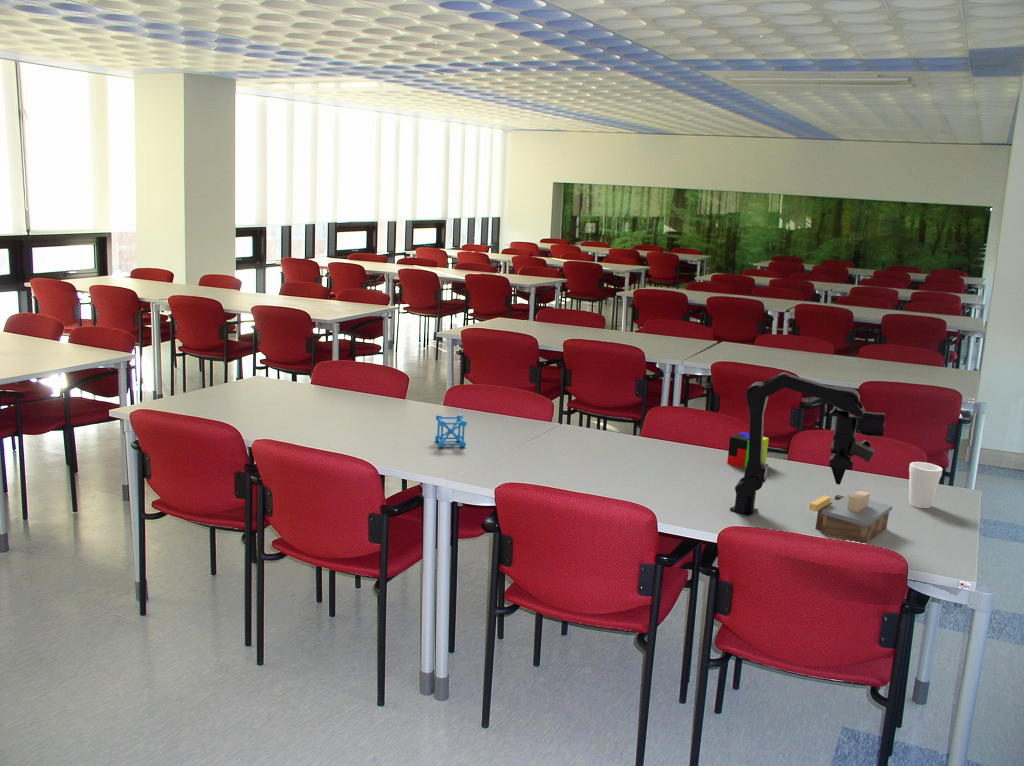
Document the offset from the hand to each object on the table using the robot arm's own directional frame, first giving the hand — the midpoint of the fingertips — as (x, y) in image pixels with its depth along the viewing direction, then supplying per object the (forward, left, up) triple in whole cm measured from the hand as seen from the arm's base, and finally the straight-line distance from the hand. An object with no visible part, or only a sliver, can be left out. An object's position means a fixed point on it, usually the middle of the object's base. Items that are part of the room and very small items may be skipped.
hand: (838, 484), depth 262 cm
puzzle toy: (+37, +46, -14) cm, 61 cm away
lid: (+2, -4, -7) cm, 9 cm away
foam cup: (+42, -12, -14) cm, 46 cm away
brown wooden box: (+2, -4, -13) cm, 14 cm away
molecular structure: (-29, +129, -14) cm, 133 cm away
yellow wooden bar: (-7, +2, -6) cm, 9 cm away
